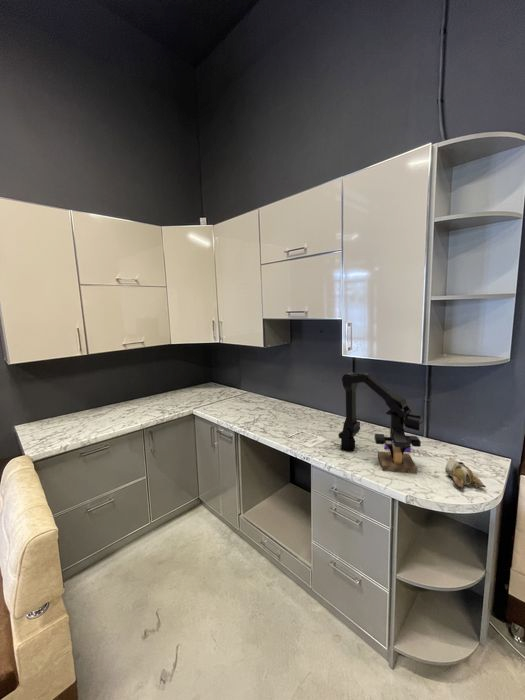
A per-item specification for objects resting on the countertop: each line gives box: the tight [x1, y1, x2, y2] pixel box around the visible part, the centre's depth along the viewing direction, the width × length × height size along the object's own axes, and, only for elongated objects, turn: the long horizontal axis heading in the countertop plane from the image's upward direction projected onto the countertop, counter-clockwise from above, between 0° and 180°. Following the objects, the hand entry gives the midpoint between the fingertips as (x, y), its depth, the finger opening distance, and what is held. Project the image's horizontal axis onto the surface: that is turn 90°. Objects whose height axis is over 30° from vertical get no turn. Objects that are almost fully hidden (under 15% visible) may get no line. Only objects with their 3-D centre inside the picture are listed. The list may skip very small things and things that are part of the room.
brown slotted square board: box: [377, 451, 418, 474], centre depth 141 cm, size 14×14×2 cm
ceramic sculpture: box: [444, 457, 487, 489], centre depth 125 cm, size 11×9×15 cm
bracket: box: [384, 434, 412, 453], centre depth 158 cm, size 12×7×7 cm, turn 67°
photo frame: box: [284, 430, 328, 449], centre depth 171 cm, size 15×1×18 cm
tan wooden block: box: [391, 445, 402, 464], centre depth 140 cm, size 3×8×6 cm, turn 168°
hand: (396, 457), depth 141 cm, fingers closed on tan wooden block, 3 cm apart
